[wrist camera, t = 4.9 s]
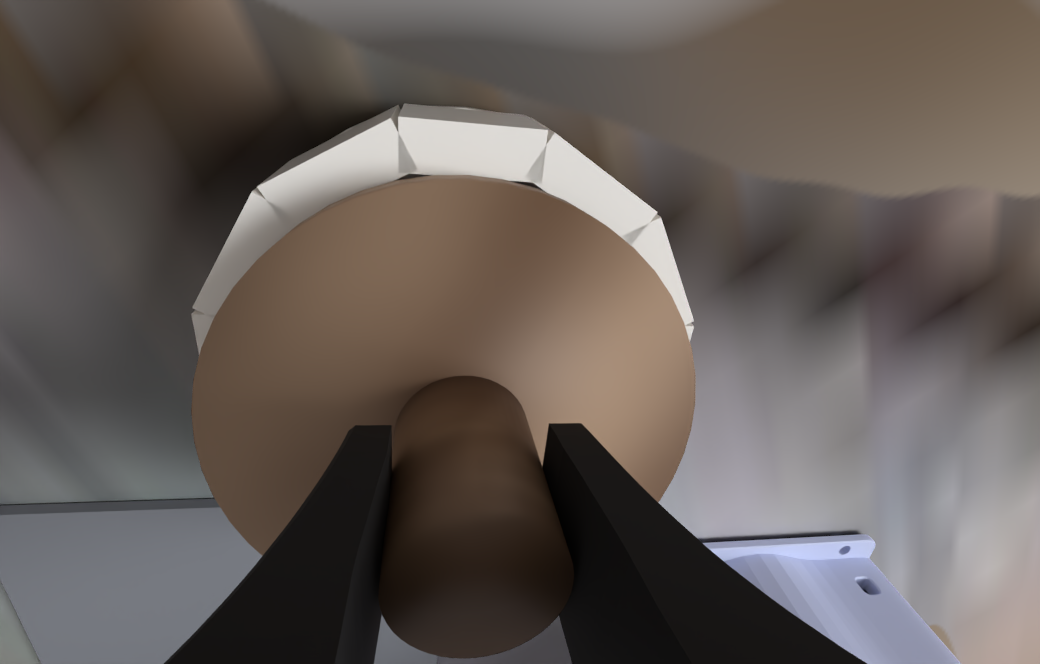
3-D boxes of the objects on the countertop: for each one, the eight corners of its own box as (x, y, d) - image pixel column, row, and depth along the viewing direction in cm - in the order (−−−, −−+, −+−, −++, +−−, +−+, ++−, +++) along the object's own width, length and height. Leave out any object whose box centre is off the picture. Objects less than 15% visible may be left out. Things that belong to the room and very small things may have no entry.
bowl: (672, 126, 14) (743, 147, 11) (602, 454, 19) (636, 534, 16) (221, 83, 12) (148, 94, 9) (272, 461, 17) (237, 553, 14)
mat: (445, 491, 19) (445, 499, 18) (436, 665, 23) (436, 675, 23) (-21, 506, 16) (-31, 516, 16) (69, 698, 21) (63, 709, 20)
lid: (737, 225, 12) (938, 302, 7) (612, 586, 15) (690, 791, 11) (210, 121, 9) (1, 135, 5) (210, 576, 13) (92, 831, 8)
